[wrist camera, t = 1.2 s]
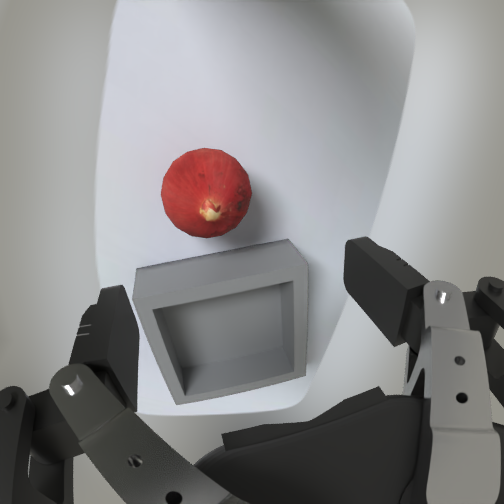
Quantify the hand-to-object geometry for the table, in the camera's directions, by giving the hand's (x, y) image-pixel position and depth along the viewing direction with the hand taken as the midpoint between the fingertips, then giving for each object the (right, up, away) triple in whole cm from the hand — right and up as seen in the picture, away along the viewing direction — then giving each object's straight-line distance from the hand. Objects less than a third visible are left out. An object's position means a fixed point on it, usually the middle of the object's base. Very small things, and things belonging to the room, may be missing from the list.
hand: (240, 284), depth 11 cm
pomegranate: (-3, +7, +13) cm, 15 cm away
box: (-2, -5, +19) cm, 19 cm away
